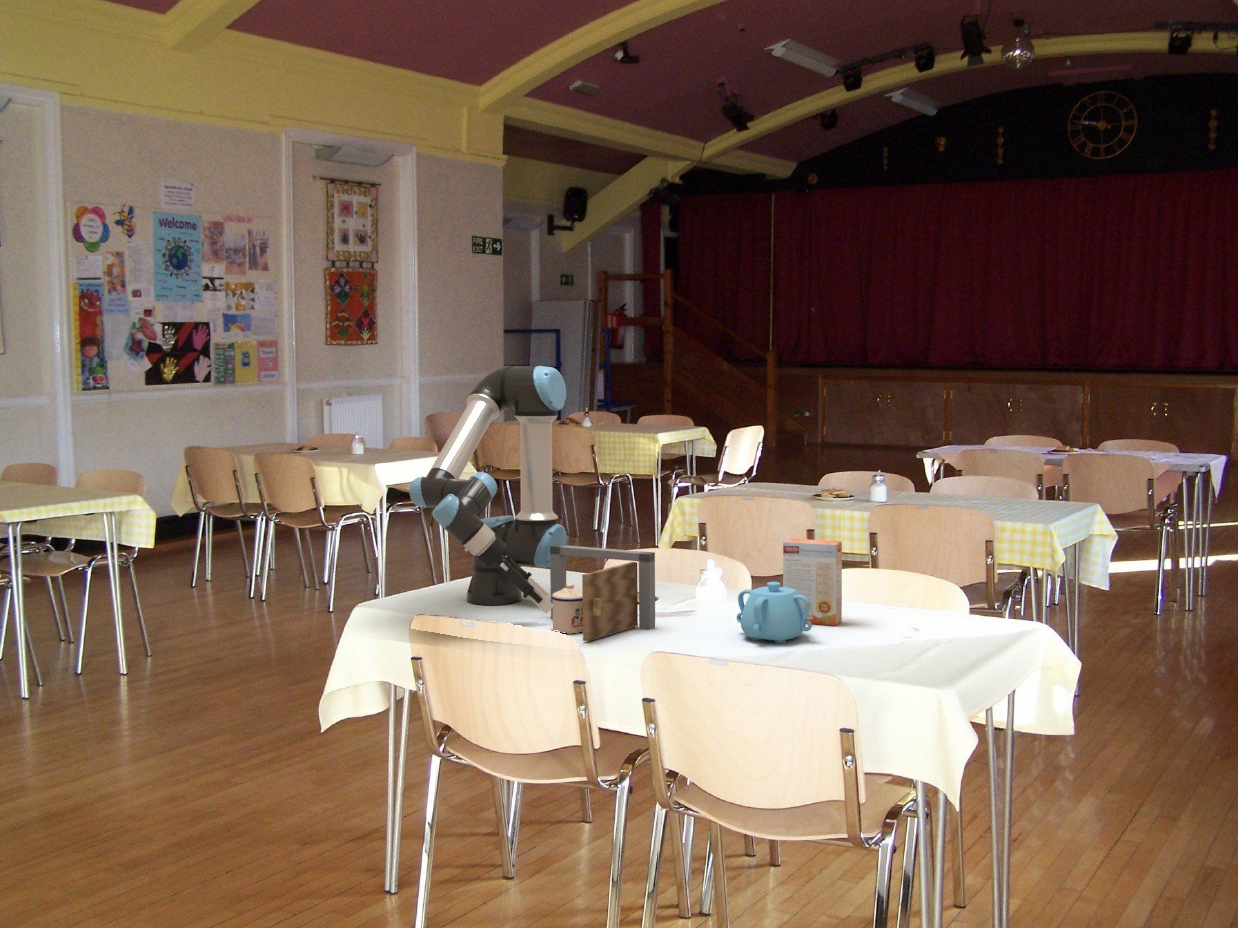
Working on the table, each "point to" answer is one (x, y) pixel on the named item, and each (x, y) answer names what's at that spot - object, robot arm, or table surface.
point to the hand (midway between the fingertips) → (547, 603)
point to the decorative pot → (773, 613)
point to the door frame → (644, 558)
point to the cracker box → (815, 577)
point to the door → (609, 600)
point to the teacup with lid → (568, 610)
